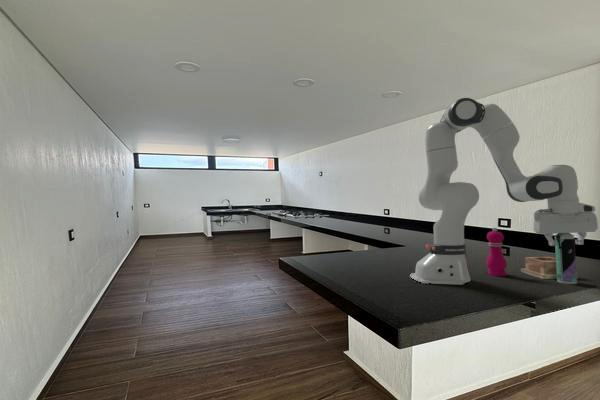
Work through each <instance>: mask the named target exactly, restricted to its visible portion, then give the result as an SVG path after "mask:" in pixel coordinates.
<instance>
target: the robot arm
mask: <svg viewBox="0 0 600 400" xmlns="http://www.w3.org/2000/svg"><path fill="white" fill-rule="evenodd" d="M467 128H472V129H473V130H475V131H476V132H477V133H478V134H479V136H480V137H481V139H482V140H483V143H484V144H485V145H486V147H487V149H488V150H489V152H490V154H491V156H492V159H493V161H494V163H495V166H496V167H497V169H498V171H499V172H500V174H501V176H502V178H503V180H504V182H505V186H506V188H505V189H506V192H507V195H508V197H510V199H512V200H513V201H515V202H517V203H526V202H535V201H544V200H546V201H547V208H541V209H539V208H538V209H537V210H536V211H535V212H534V213H533V217H534V218H533V219H534V220H533V231H534V233H536V234H537V235H538V234H540V235H544V237H545V238H546V240H547V241H548V245H549V246H550V247H555V246H556V241H555V239H553V236H554V235H556V234H558V233H570V234H573V233H574V234H577V236H578V237H577V239H576V238H575V239H574V240H575V245H578V246H579V245H580V246H581V245H584V244H585V243H584V241H585V238H586V237H587V233H595V232H596V231H597V230H598V228H599V224H598V223H599V222H598V217H597V214H596V213H594V212H596V207H595V206H594V205H591V204H585V203H584V202H580V198H579V196H578V189H579V183H578V177H577V172H576V171H575V170H576V169H575V168H574V167H573V166H571V165H567V164H555V165H554V164H553V165H549V166H547V168H544V170H541V171H540V172H538V173H536V174H533V175H530V176H525V175H524V174H523V172H521V170H520V168H519V165H518V164H517V162H516V160H515V158H514V152H515V149H516V147H517V146H518V144H519V142H520V134H519V131H518V128H517V126H516V125H515V124H514V123H513V121H512V120H511V118H510V117H509V115H508V114H507V113H506V112H505V111H504V110H503V109H502V108H501V107H500V106H499V105H497V104H496V103H489V104H482V103H480V102H479V101H477V100H476V99H473V98H470V97H462V98H459V99H457V100H455V101H454V102H453V103H451V104H450V105H449V106H448V107H447V108H446V110H445V111H444V113H443V114H442V116H441V118H440V121H439V122H436V123H433V124H431V125H429V127H427V128H426V131H425V152H426V162H427V177H426V181H425V184H424V186H423V187H422V189H421V190H420V192H419V195H418V201H419V204H420V205H421V207H423V208H424V209H427V210H431V211H442V212H441V216H440V218H439V219H438V220H437V221H435V223H433V226H432V227H433V228H432V229H433V243H432V244H426V245H425V248H426V250H429V253H427V254H426V255H425V256H424V257H422V258H420V259H419V260H418V261H417V262H416V265H415V272H412V273H410V274H409V278H410V277H411V278H412V279H414V280H416V281H418V282H417V283H419V282H421V283H420V284H429V283H431V284H432V285H434V284H435V285H460V286H462V285H465V283H469V282H471V277H470V275H469V274H470V273H469V271H468V270H469V269H468V267H467V266H468V265H467V260H466V258H467V248H466V244H465V224H466V220H467V216H468V214H469V213H470V211H471V210H472V209H473V208H474V207H475V206H477V204H478V203H479V199H480V193H479V189H478V188H477V186H476V185H474V184H473V183H470V182H463V181H457V182H455V181H454V182H450V181H451V177H452V175H453V173H454V172H456V170H458V167H459V161H458V155H457V147H456V140H455V138H456V134H458V133H460V132H461V131H463V130H465V129H467ZM411 278H410V279H411ZM412 279H411V280H412ZM414 280H413V281H414ZM416 281H415V282H416Z"/></svg>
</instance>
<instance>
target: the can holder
mask: <svg viewBox="0 0 600 400" xmlns="http://www.w3.org/2000/svg"><path fill="white" fill-rule="evenodd" d="M524 260H525V261H524V263H525V267H523V268H520V272H521V273H524V274H527V275H528V276H529V275H530V276H533V277H536V278H540V279H543V280H557V268H556V257H553V256H530V257H529V256H527V257H524ZM579 277H580V276H579V274H577V280H578V279H579Z"/></svg>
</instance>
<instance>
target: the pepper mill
mask: <svg viewBox="0 0 600 400" xmlns="http://www.w3.org/2000/svg"><path fill="white" fill-rule="evenodd" d="M504 238H505V237H504V235H503V233H502V232H501V231H498V228H497V227H494V226H493V227H492V231H489V232H487V234H486V240H487V241H488V247H489V255H488V256H487V258H486V266H487V267H488V270H487V272H488V275H490V276H495V277H505V276H506V275H507V271H506V270H505V269H507V266H508V265H507V260H506V259H505V257H504V254H503V250H502V247H503V241H504V240H505V239H504Z"/></svg>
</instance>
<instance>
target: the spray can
mask: <svg viewBox="0 0 600 400" xmlns="http://www.w3.org/2000/svg"><path fill="white" fill-rule="evenodd" d="M575 240H576V239H575V236H574V234H573V233H555V234H554V241H556V246H554V248H555V258H556V268H557V279H556V281H557V282H558V283H560V284H566V285H577V284H578V279H577V262H576V261H577V260H576V243H575Z"/></svg>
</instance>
